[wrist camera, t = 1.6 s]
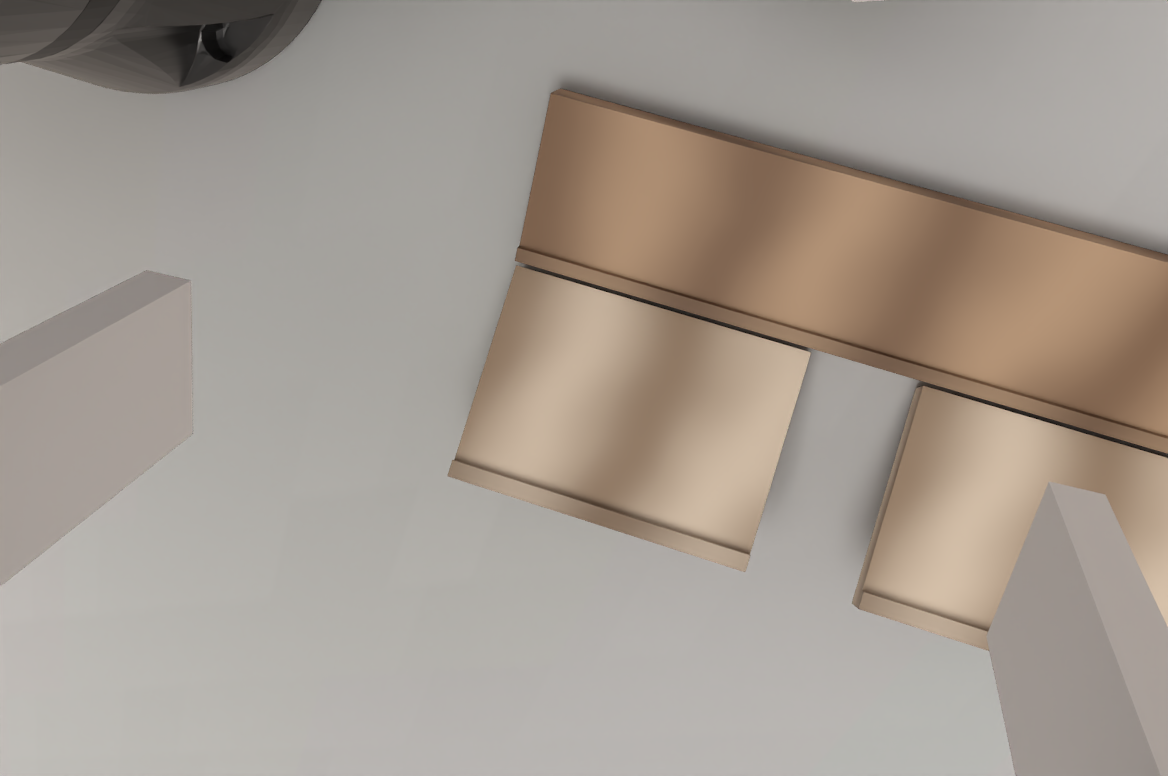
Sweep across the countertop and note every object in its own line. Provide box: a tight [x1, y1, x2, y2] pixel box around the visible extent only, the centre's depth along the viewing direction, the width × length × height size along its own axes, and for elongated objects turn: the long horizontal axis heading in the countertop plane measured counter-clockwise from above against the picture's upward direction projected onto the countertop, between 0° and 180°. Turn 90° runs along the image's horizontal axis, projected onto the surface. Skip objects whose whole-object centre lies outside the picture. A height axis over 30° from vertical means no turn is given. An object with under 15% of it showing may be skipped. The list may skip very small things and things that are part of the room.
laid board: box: [515, 89, 1168, 454], centre depth 35 cm, size 26×6×2 cm, turn 77°
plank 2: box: [852, 386, 1168, 651], centre depth 36 cm, size 11×8×2 cm
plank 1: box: [448, 265, 811, 572], centre depth 38 cm, size 11×8×2 cm
